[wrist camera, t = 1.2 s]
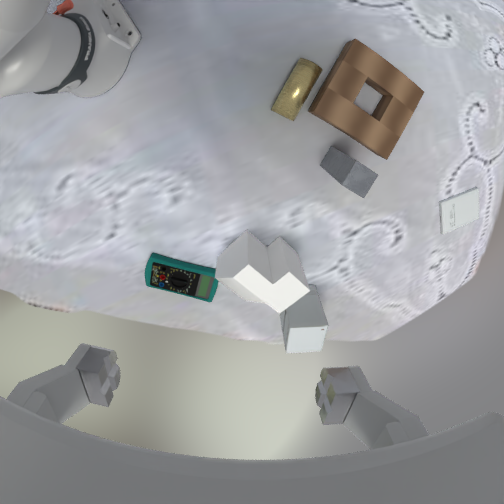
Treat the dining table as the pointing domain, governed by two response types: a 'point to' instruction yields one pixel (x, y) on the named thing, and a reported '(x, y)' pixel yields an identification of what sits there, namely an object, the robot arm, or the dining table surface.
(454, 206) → the external hard drive
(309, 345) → the supplement box
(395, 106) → the socket block
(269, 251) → the corner bracket
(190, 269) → the digital multimeter
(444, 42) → the dining table surface
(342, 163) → the square bit
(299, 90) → the round bit
